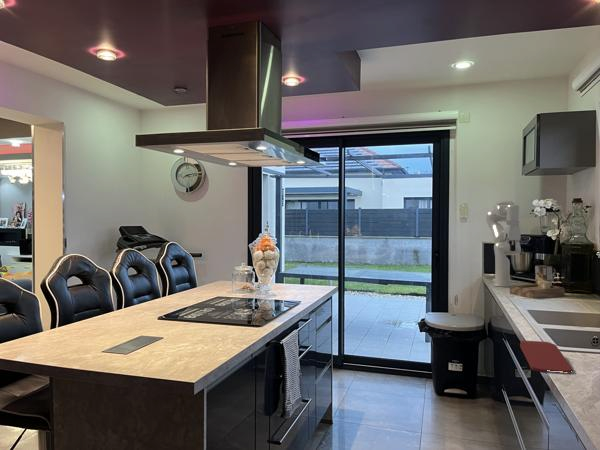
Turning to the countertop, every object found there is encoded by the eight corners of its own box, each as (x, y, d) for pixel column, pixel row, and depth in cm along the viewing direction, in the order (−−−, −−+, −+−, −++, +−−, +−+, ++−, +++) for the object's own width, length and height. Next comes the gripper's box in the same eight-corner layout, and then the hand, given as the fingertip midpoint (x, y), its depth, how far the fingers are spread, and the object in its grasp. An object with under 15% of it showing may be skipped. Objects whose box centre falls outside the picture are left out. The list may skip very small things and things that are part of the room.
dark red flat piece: (573, 385, 150) (551, 351, 173) (574, 371, 149) (552, 339, 173) (532, 382, 153) (516, 349, 176) (533, 368, 152) (517, 337, 176)
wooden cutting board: (509, 293, 296) (509, 286, 296) (540, 291, 304) (540, 283, 304) (532, 298, 279) (532, 290, 279) (564, 295, 287) (564, 287, 287)
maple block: (538, 287, 299) (538, 281, 299) (544, 286, 300) (544, 280, 300) (544, 288, 294) (544, 282, 294) (550, 287, 296) (550, 281, 296)
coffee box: (553, 290, 307) (553, 266, 307) (547, 291, 305) (547, 267, 304) (541, 288, 316) (541, 265, 315) (534, 289, 313) (534, 265, 313)
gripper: (517, 223, 309) (517, 250, 309) (499, 223, 304) (499, 251, 304) (526, 223, 302) (526, 251, 302) (508, 223, 297) (508, 251, 297)
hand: (512, 250), depth 303 cm, fingers closed
